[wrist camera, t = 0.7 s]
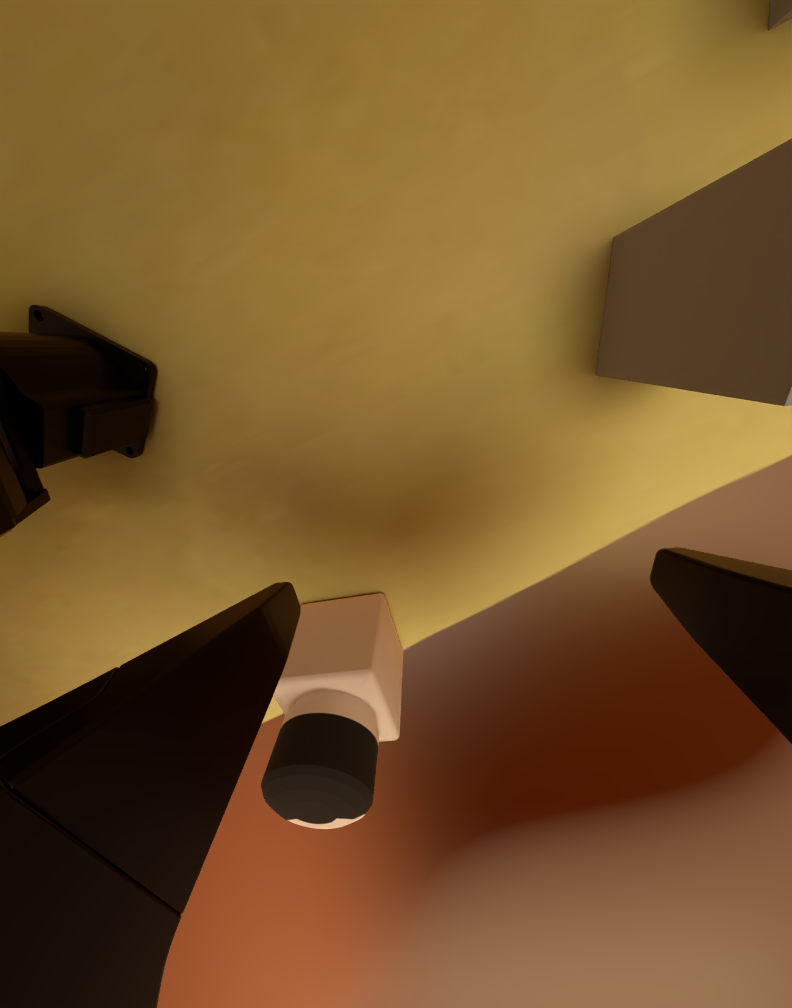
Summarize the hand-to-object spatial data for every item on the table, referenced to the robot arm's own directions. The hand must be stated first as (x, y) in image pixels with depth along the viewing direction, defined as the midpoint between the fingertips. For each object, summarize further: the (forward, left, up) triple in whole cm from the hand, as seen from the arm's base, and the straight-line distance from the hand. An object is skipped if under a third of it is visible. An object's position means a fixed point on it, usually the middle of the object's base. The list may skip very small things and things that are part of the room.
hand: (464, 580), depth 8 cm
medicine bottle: (+2, -17, -13) cm, 22 cm away
